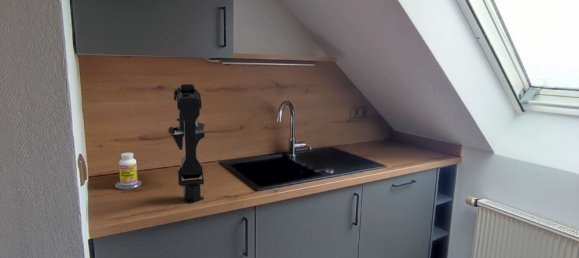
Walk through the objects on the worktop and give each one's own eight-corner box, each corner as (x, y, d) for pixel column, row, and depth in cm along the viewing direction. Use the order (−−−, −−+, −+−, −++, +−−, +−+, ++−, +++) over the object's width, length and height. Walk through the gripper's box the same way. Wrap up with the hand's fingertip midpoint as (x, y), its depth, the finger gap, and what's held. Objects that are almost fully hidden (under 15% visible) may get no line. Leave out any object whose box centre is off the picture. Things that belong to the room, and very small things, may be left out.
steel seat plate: (146, 185, 155) (145, 183, 155) (122, 191, 148) (122, 189, 148) (134, 180, 162) (134, 178, 162) (111, 186, 154) (111, 183, 154)
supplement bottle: (118, 186, 151) (116, 156, 148) (122, 181, 157) (120, 152, 155) (136, 185, 152) (134, 155, 150) (139, 180, 159) (137, 151, 156)
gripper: (214, 116, 158) (215, 151, 161) (188, 111, 169) (190, 144, 172) (192, 119, 149) (194, 156, 152) (167, 114, 161) (168, 149, 164)
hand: (187, 151), depth 161 cm, fingers open, 9 cm apart
